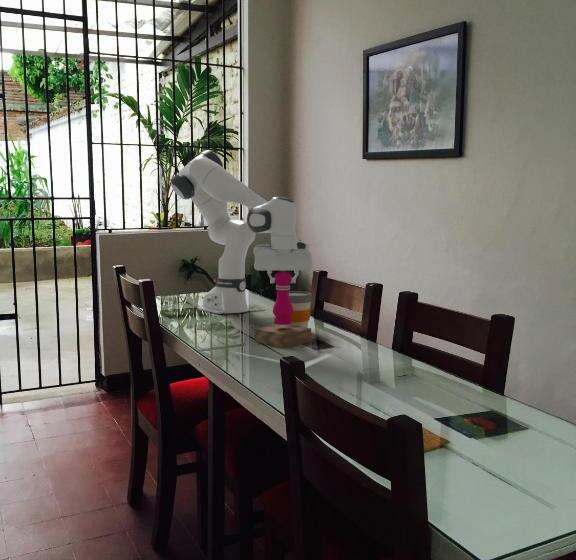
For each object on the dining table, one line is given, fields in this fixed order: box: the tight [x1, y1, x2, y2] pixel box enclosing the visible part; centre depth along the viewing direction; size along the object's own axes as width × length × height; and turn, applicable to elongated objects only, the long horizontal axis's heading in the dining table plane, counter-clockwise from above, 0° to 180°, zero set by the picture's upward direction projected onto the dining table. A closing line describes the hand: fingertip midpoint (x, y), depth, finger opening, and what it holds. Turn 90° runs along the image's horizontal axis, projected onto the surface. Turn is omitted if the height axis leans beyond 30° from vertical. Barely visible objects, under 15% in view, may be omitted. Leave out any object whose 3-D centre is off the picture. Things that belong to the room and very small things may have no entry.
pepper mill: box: [272, 270, 293, 325], centre depth 227 cm, size 7×7×20 cm
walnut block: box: [254, 324, 312, 349], centre depth 229 cm, size 14×14×5 cm
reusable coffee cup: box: [289, 290, 313, 328], centre depth 243 cm, size 13×12×15 cm
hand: (283, 283), depth 227 cm, fingers closed on pepper mill, 6 cm apart
